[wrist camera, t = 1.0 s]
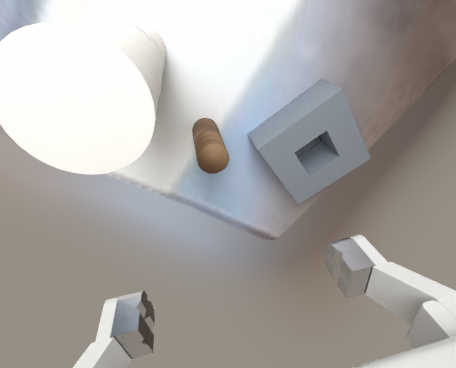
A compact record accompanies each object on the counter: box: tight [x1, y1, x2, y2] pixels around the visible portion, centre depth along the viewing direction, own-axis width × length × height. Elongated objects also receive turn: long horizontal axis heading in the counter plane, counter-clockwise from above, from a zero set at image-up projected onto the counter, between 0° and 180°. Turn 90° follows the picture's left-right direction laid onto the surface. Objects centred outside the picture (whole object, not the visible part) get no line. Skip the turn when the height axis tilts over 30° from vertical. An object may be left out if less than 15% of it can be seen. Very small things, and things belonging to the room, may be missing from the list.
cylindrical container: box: [0, 18, 166, 175], centre depth 22 cm, size 7×7×25 cm
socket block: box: [248, 79, 371, 205], centre depth 42 cm, size 14×14×6 cm
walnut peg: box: [192, 118, 229, 173], centre depth 36 cm, size 4×4×10 cm
